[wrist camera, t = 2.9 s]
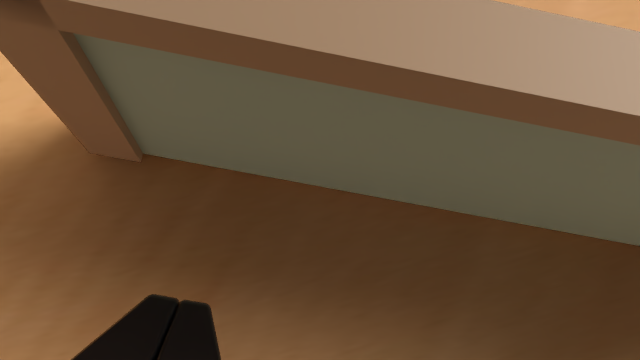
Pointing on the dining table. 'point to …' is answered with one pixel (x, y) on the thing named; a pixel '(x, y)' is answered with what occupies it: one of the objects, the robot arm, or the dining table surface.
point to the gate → (356, 98)
